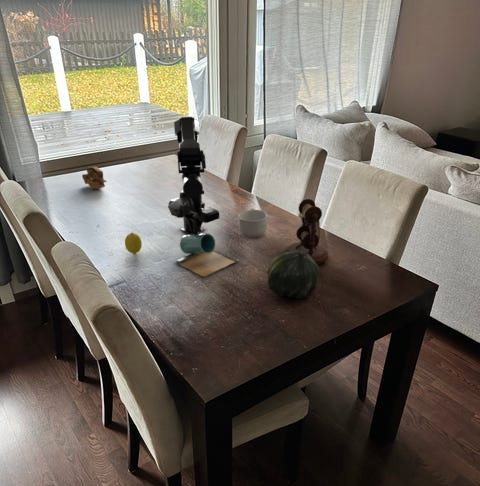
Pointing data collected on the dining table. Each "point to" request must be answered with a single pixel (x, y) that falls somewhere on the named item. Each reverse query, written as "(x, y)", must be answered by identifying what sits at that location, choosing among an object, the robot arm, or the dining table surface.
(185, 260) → the cork mat
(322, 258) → the brown spool stand
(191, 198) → the robot arm
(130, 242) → the lemon
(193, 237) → the cup
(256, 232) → the teacup
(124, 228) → the dining table surface
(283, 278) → the squash
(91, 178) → the wooden carving
